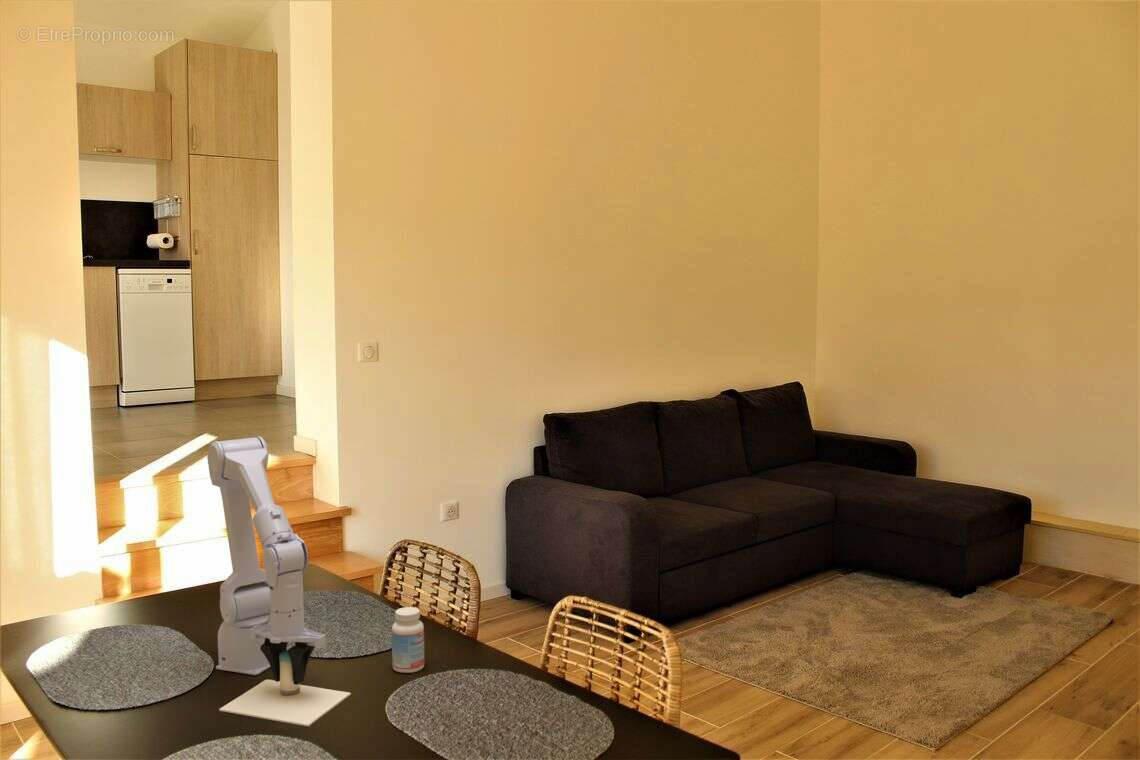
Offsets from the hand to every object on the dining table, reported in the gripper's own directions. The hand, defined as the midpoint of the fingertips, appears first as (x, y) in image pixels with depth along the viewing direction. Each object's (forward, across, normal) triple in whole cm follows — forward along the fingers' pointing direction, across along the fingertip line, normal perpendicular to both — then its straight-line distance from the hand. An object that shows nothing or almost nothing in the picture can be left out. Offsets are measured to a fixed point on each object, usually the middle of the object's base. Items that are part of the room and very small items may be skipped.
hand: (289, 681), depth 170 cm
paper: (+2, +2, -3) cm, 4 cm away
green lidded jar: (+2, 0, 0) cm, 2 cm away
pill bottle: (+3, +14, +17) cm, 23 cm away
